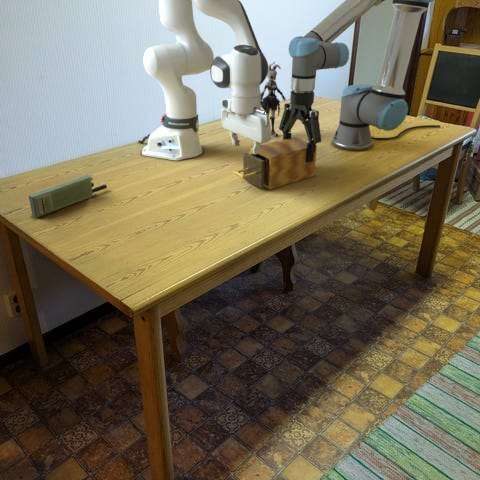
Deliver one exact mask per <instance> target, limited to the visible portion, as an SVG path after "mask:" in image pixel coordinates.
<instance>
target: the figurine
mask: <svg viewBox="0 0 480 480" xmlns="http://www.w3.org/2000/svg"><path fill="white" fill-rule="evenodd" d="M275 63H276V62H275V61H273V62H272V63H270V64H268V68H269V69H268V74H267V77H266V78H267V79H268V81H267V82H266V83H265V85H264V87H263V90H262V92H261V108H262V110H264V111H266V113H267V115H268V116H269V120H270V125H271V136H274V137H278V136H279V133H277V132H276V131H275V119H276V111H277V117H280V116H279V115H280V112H281V111H282V110H281V107H280V106H281V104H280V103H281V101H280V100H279V99H278V95H277V94H276V92H277V93H278V94H279V95H280V96H281V98H282V102H284V103H286V101H287V99H286V97H285V95H284V94H283V92H282V91H281V89H280V88H279V87H278V84H277V81H276V80H277V75H278V72H277V70H276V69H277V68H278V69H279V70H282V68H281V66H280V65H279V64H275ZM272 66H273V67H272ZM266 90H267V91H268V93H267V95H266V96H265V92H266ZM264 96H265V97H264ZM265 115H266V114H265Z"/></svg>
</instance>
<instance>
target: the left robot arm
mask: <svg viewBox="0 0 480 480" xmlns="http://www.w3.org/2000/svg"><path fill="white" fill-rule="evenodd" d="M157 2H158V13H159V21H160V23H161V25H162V26H163V27H164V28H165V29H166V30H167V31H170V32H172V34H173V35H174V37H175V42H170V43H169V42H168V43H159V44H155V45H153V46H150V47H147V48H146V49H145V51H144V54H143V57H142V63H143V67H144V70H145V71H146V73H147V74H148V75H149V76H150V77H151V78H153V79H154V80H155V81H156V82H157V83H158V84H159V86H160V87H161V89H162V92H163V96H164V102H165V113H163V114H162V116H161V118H160V123H161V125H159V127H157V128H156V129H155V130H154V131H152V132H151V133H149V134H147V135H146V136H144V137H143V138H142V140H140V139H139V140H138V141H137V142H138V143H139V144H144V143H145V141H146V140H147V145H145V146H144V147H143V148H142V150H141V155H142V156H145V157H152V158H157V159H164V160H170V161H176V162H178V161H182V160H185V159H190V158H191V159H192V158H196V157H198V156H200V155H202V153H203V149H202V148H203V147H202V145H201V142H200V134H199V128H200V121H199V114H198V103H197V100H198V99H197V94H196V92H195V91H194V89H192V88H191V87H189V86H187V85H185V84H184V83H183V77H185V76H192V75H199V74H203V73H205V72H208V71H209V75H210V79H211V81H212V83H213V84H214V85H215V86H216V87H217V88H219V89H230V97H226V98H222V99H220V106H221V107H222V108H221V110H220V123H221V126H222V128H223V129H224V130H227V131H229V136H230V138H231V145H232V146H234V147H240V144H241V143H240V140H241V139H239V138H238V135H239V136H241V137H244V138H247V139H248V140H251V141H252V143H253V144H254V145H253V148H252V147H250V148H251V153H252V154H258V153H259V147H260V145H263V144H267V143H270V140H271V138H272V135H271V130H272V125H271V119H270V115H269V116H268V115H267V113H266V111H265V110H264V109H261V108H262V107H261V93H262V92H261V89H260V88H261V85H262V84H263V83H264V82H265V80H266V78H268V77H267V74H268V70H269V63H268V60H267V58H266V56H265V55H264V53H263V51H262V49H261V47H260V45H259V42H258V39H257V37H256V35H255V32H254V28H253V27H252V24H251V22H250V18H249V17H248V14H247V11H246V9H245V7H244V5H243V3H242V2H241V0H158V1H157ZM193 4H194V6H195V7H196V8H197V9H198V11H199V12H201V13H202V14H204V15H205V16H208V17H211V18H214V19H217V20H220V21H221V22H223V23H225V24H226V25H228V26H229V27H230V28H231V29H232V31H233V33H234V36H235V38H236V41H237V43H238V44H237V45H235V46H234V47H233V48H232V49H231V50H230V51H229V52H227V53H224V54H221V55H217V56H216V57H215V56H214V51H213V49H212V46H210V44H209V43H208V42H206V40H205V41H204V39H203V37H201V35H200V34H199V32H198V29H197V27H196V23H195V17H194V8H193ZM265 114H266V115H265Z"/></svg>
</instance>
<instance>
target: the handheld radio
mask: <svg viewBox="0 0 480 480" xmlns="http://www.w3.org/2000/svg"><path fill="white" fill-rule="evenodd" d="M92 176H93V174H91V173H88V174H85V175H83V176H79V177H76V178H74V179H71V180H68V181H65V182H62V183H59V184H57V185H54V186H50V187H47V188H44V189H42V190H39V191H37V192H33V193H30V194H28V200H29V206H30V210H31V216H32V217H34V218H35V219H36V218H39V217H42V216H45V215H47V214H50V213H53V212H56V211H58V210H60V209H63V208H66V207H68V206H72V205H73V204H76V203H80V202H82V201H84V200H87V199H90V198H93V196H95V195H96V194H95V193H97V192H100V191H102V190H106V189H107V188H108V186H107V184H102V185H99V186H96V187H94V186H95V183H94V182H92V181H93V180H94V178H93V177H92ZM93 187H94V188H93Z"/></svg>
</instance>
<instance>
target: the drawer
mask: <svg viewBox="0 0 480 480" xmlns="http://www.w3.org/2000/svg"><path fill="white" fill-rule="evenodd" d="M242 157H243V163H242V164H243V165H242V166H243V167H242V169H239V170H238V169H237V170H236V169H234V170H233V171H232V174H233V175H234V176H237V177H238V178H240V179H242V180H244V181H246V182H248V183H249V184H252V185H254V186H256V187H258V188H260V189H263V188H265V187H264V184H265V185H267V184H268V177H269V159H268V158H266V157H264V156H261V155H259V154H252V153H251V154H250V152H243V155H242Z"/></svg>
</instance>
